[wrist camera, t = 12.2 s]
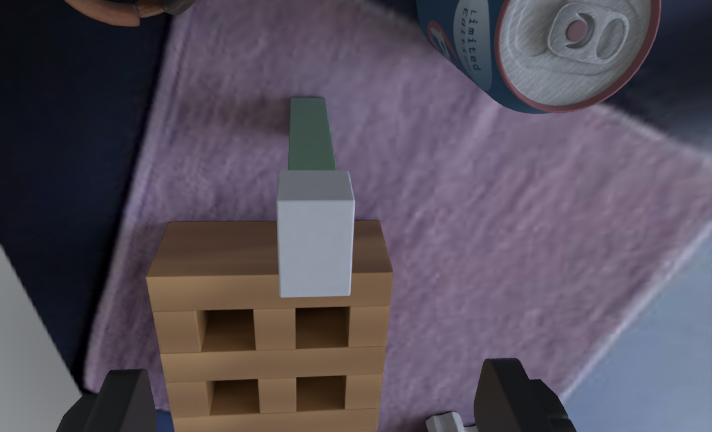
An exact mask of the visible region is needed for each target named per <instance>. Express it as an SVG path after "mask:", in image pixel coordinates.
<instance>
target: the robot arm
mask: <svg viewBox="0 0 712 432" xmlns="http://www.w3.org/2000/svg"><path fill="white" fill-rule="evenodd" d="M474 417H475V423H476V426H477V430H478V432H577V431H576V429H575V428H574V426H573V424H572V422H571V420H570V419H568V415H567V413H566V411H565V409H564V407H563V405H562V403H561V402H560V400H559V398H558V396H557V395H556V394H555V393H554V392H553V391H552V390H551V389H550V388H549V387H548V386H547V385H546V384H545V383H543V382H542V381H541V380H540V379H534V380H529V378H528V376H527V374H526V372H525V370H524V368H523V366H522V364H521V362H520V361H519V360H518V359H517V358H496V359H485V361H484V363H483V366H482V370H481V375H480V379H479V383H478V387H477V391H476V396H475V400H474ZM156 423H157V418H156V410H155V405H154V400H153V395H152V391H151V386H150V381H149V376H148V372H147V370H146V369H125V370H111V371H109V372H108V374H107V376H106V378H105V380H104V382H103V385H102V387H101V389H100V392H99V394H98V395H83V396H82V397H81V398H80V399H79V400H78V401H77V402H76V403H75V404H74V405H73V406H72V407H71V408H70V409H69V410H68V411H67V413H66V414H65V415H64V416H63V418H62V420H61V422H60V424H59V427H58V429H57V431H56V432H156Z"/></svg>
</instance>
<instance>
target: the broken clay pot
mask: <svg viewBox="0 0 712 432" xmlns="http://www.w3.org/2000/svg"><path fill="white" fill-rule="evenodd" d="M65 1H66V2H67V3H68V4H69V5H71V6H72V7H73V8H75V9H76V10H78V11H79V12H81V13H83V14H84V15H86V16H89V17H91V18H93V19H96V20H98V21H101V22H105V23H108V24H111V25H118V26H139V25H140V18H145V17H149V16H154V15H157V14H159V13H162V12H166V13H169V14H172V15H180V14H181V13H183V12H184V11H186V10H187V9H188V8H189V7H190V6H191V5H192V4H193V3H194V2H195V1H196V0H139V1H137V2H136V3H135V4H134V5H133V4H130V3H128V4H127V3H117V2H112V1H108V0H65ZM139 17H140V18H139Z"/></svg>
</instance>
